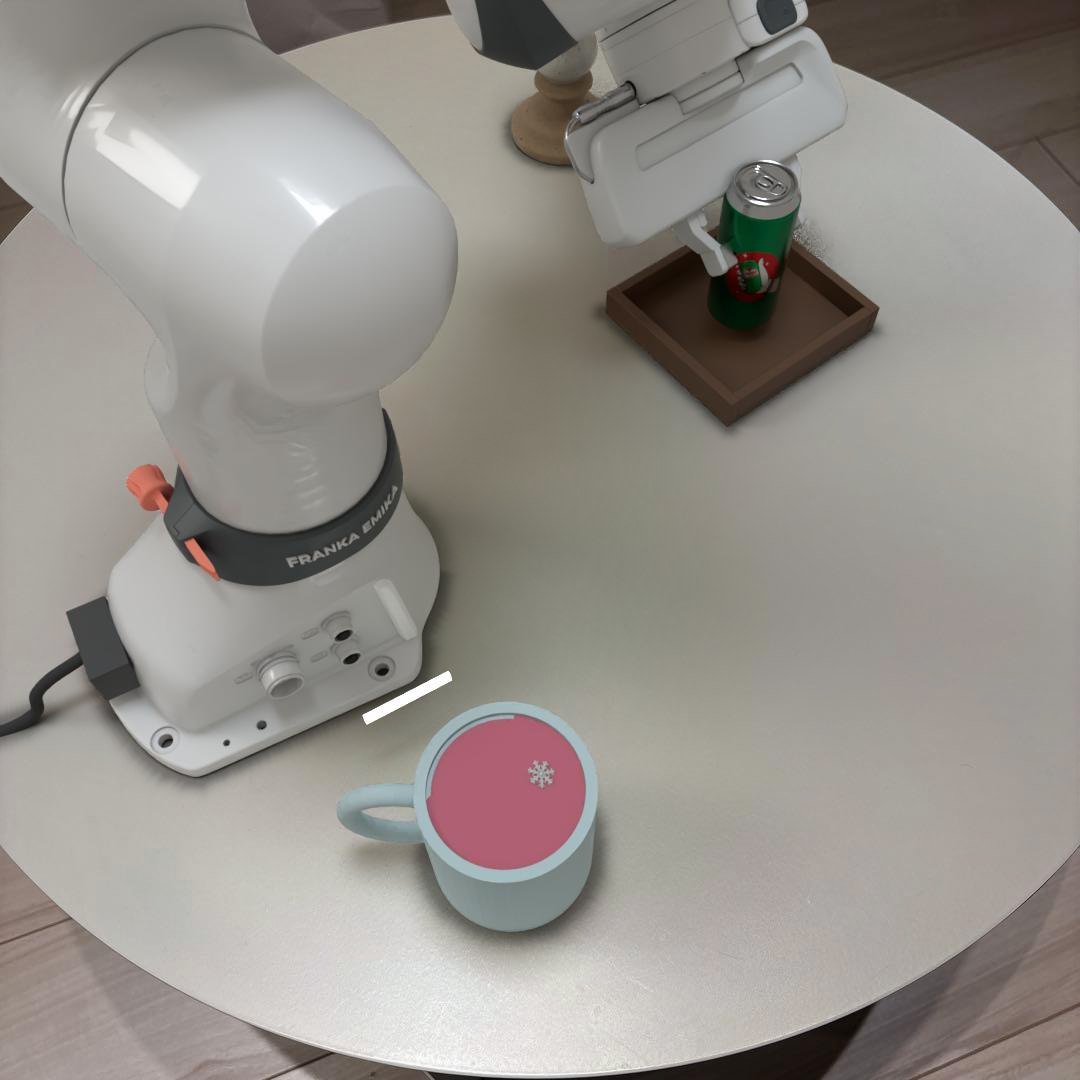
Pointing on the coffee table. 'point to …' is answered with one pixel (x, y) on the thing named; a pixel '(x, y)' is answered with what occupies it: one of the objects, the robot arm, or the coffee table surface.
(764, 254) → the soda can
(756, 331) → the tray
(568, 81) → the candle holder
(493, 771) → the mug
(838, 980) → the coffee table surface
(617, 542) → the coffee table surface
